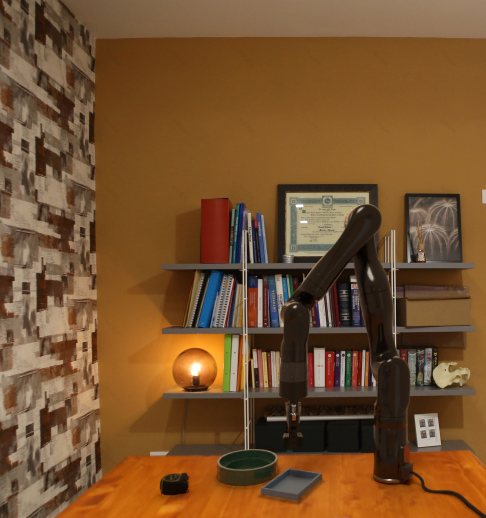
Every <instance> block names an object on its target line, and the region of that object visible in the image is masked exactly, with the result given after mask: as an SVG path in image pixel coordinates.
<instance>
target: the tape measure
mask: <svg viewBox="0 0 486 518" xmlns="http://www.w3.org/2000/svg"><path fill="white" fill-rule="evenodd" d="M189 477H190V476H189V475H188V473H187V472H181V473H176V472H175V473H169V474H166V475H164V476H163V477H161V479H160V481H159V490H160V492H161V494H163V495H167V496H174V495H178V494H182V493H187V492H188V490H189Z"/></svg>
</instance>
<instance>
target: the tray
mask: <svg viewBox="0 0 486 518" xmlns="http://www.w3.org/2000/svg"><path fill="white" fill-rule="evenodd" d="M322 480H323V473H322V472H316V471H309V470H303V469H296V468H291V467H288V468H287V469H285V470H284V471H282V472H281V473H279V474H277V475H276V476H275V477H274V478H272V479H271V480H269V482H267V483H266V484H264V485H263V486H262V487H260V495H262V496H267V497H272V498H278V499H285V500H289V501H296V502H298V501H299V500H300V499H302V498H303V497H304V496H306V494H308V492H310V491H311V490H312V489H313V488H314V487H315V486H316V485H318V484H319V483H320V482H321V481H322Z"/></svg>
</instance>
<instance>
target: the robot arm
mask: <svg viewBox="0 0 486 518" xmlns="http://www.w3.org/2000/svg"><path fill="white" fill-rule="evenodd" d="M343 219H344V220H343V228H344V229H343V231H342V232H341V234H340V236H339V237H338V239H337V240H336V241H335V243H333V244H332V246H331V247H330V248H329V249H328V250H327V252H325V254H324V255H322V257H321V258H320V259H319V260H318V261H317V262H316V264H314V266H313V267H312V268H311V270H310V271H309V273H308V274H306V275H307V276H306V277H305V278H304V279H303V281H302V283H300V286H299V287H298V288H297V289H296V290H295V291H294V292H293V293H292V294H291V295H290V297H289V298H288V299H287V300H286V301H285V302H284V304H283V305H282V306H281V309H280V312H279V317H280V318H279V319H280V321H281V323H282V324H283V336H282V337H283V338H282V340H281V343H280V362H279V363H280V364H279V370H278V371H279V372H278V374H279V375H278V376H279V377H278V396H279V398H282V399H284V400H288V401H287V402H285V413H286V414H285V415H286V416H285V419H286V424H287V433H289V448H288V449H296V447H297V433H299V432H300V428H299V426H300V423H301V412H302V403H301V402H299V401H300V399H304V398H307V397H308V395H309V363H308V360H309V359H308V358H309V357H308V356H309V355H308V354H309V348H308V346H309V345H308V342H309V336H310V330H311V329H310V327H311V311H312V310H313V309H314V307H315V306H316V305H317V303H319V302H321V301H322V300H323V299H324V298H325V297H326V296H327V294H328V292H330V290H331V288H333V286H334V284H335V283H336V282H337V280H338V279H339V278H340V276H341V274H342V273H343V271H344V270H345V269H346V268H347V266H348V265H349V263H350V262H351V261H352V260H353V261H352V262H353V268H354V275H355V281H356V287H357V294H358V299H359V305H360V310H361V313H362V319H363V322H364V323H363V324H364V327H365V330H366V334H367V339H368V344H369V345H368V346H369V355H370V369H371V370H370V371H371V375H372V377H373V379H374V381H375V382H376V385H377V387H376V388H377V389H376V400H375V402H374V403H373V473H372V476H373V480H375V481H377V482H379V483H382V484H390V485H394V484H395V485H396V484H405V483H406V482H407V481H409V480H410V479H411V478H412V476H414V477H416V478H417V479H418V480H419V481H420V485H421V488H422V489H423V490H424V491H425V492H427V493H430V494H431V493H432V494H443V495H444V494H447V495H453V496H455V497H458V498H459V499H461V501H462V502H463V503H465V504H466V506H467V507H469V508H470V509H472V510H473V511H474V512H475V513H476V514H478V515H479V516H480V517H482V518H486V513H484V512H483V511H482V510H480V509H478V508H477V507H476V506H475V505H473V504H472V503H471V502H469V500H467V498H466V497H464V496H463V495H462V494H460V493H459V492H457V491H454V490H449V489H439V490H436V489H430V488H428V487H427V486H426V485H425V479H424V478H423V477H422V476H421V475H420V474H418V473H417V472H415V471H414V463H413V462H410V455H411V454H410V449H411V448H410V447H411V446H410V445H411V444H410V443H411V442H410V440H408V409H409V406H410V402H411V369H410V366H409V364H408V362H407V361H406V360H404V359H403V357H400V356H399V353H398V350H397V346H396V342H395V338H394V337H395V336H394V321H395V320H394V318H395V317H394V316H395V305H394V298H393V294H392V293H393V292H392V287H391V283H390V279H389V277H388V275H387V273H386V271H385V268H384V266H383V264H382V262H381V260H380V258H379V255H378V250H377V243H376V237H375V235H376V234H377V233H378V232H379V231H380V229H381V227H382V224H383V217H382V213H381V211H380V209H379V208H378V207H377V206H376V205H373V204H372V203H371V204H370V203H362V204H359V205H356V206H355V207H353V208H351V209H350V210H348V211H347V212H346V214H345V216H344V218H343Z"/></svg>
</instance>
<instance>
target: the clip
mask: <svg viewBox="0 0 486 518" xmlns="http://www.w3.org/2000/svg"><path fill="white" fill-rule="evenodd" d="M303 438H304V437H303V434H302V433H301V432H298V433H297V447H296V448H299V449H300V448H303ZM296 448H295V449H296ZM282 449H290V448H289V433H288V432H287V433H283V435H282Z"/></svg>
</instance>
